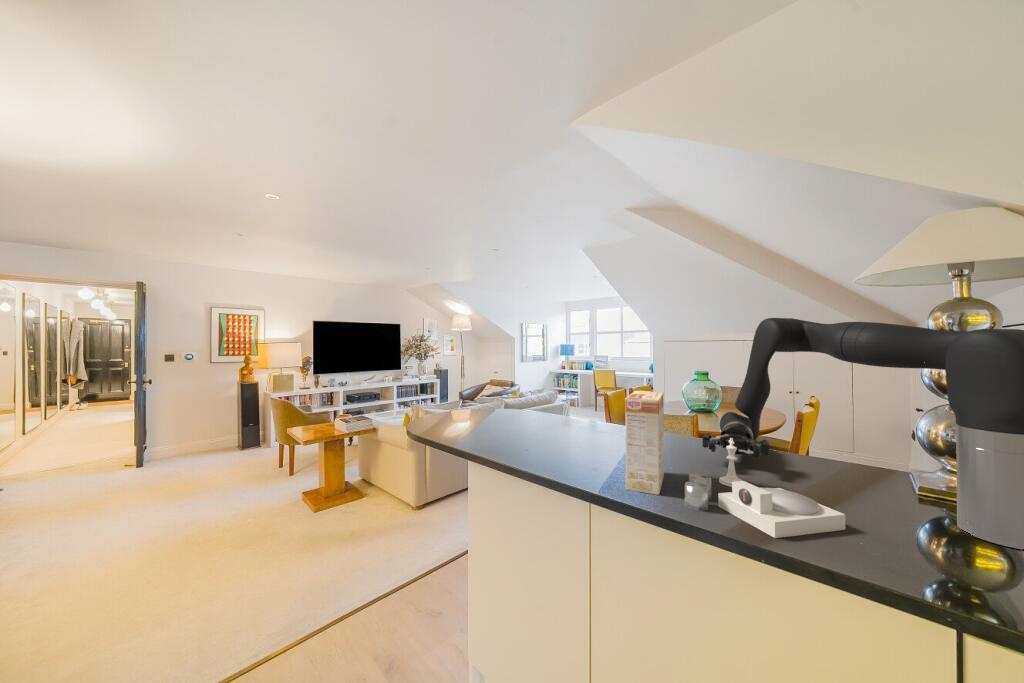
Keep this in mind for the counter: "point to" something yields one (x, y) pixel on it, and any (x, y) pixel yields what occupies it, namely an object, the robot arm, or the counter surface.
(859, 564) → the counter surface
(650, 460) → the coffeecake box
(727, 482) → the chess piece
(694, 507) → the spacer
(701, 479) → the spacer
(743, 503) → the scale
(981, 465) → the robot arm
